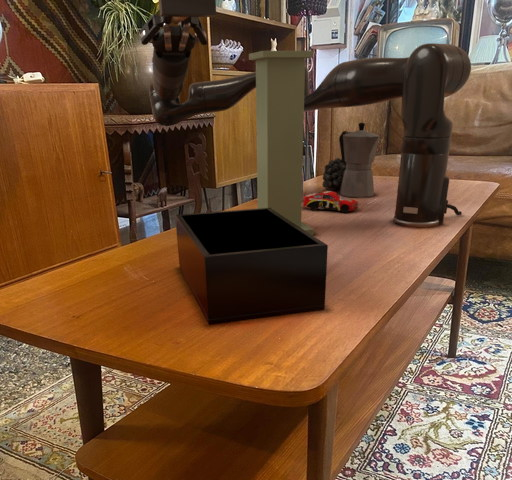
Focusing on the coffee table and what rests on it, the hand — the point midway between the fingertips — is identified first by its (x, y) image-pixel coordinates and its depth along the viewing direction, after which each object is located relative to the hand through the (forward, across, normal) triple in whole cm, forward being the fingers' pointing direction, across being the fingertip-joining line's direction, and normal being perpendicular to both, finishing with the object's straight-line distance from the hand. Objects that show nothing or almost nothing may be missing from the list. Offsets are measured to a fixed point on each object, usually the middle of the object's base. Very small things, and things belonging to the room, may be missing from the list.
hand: (178, 4), depth 93 cm
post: (-11, -16, -40) cm, 44 cm away
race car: (-24, -34, -33) cm, 53 cm away
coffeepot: (-38, -48, -25) cm, 66 cm away
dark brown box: (+1, 0, -4) cm, 4 cm away
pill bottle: (-36, -29, -26) cm, 53 cm away
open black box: (+15, 0, -55) cm, 57 cm away
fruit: (-44, -45, -22) cm, 66 cm away
